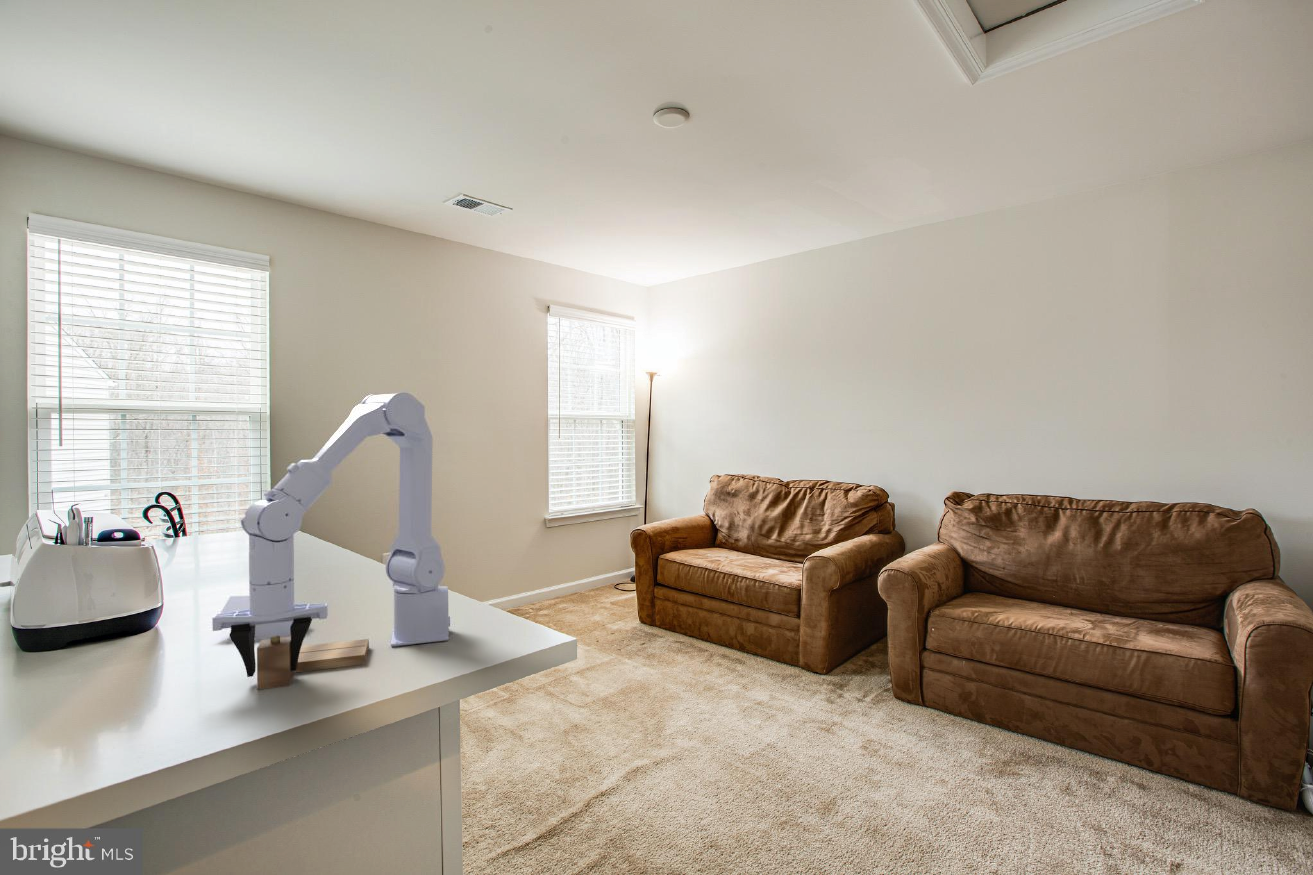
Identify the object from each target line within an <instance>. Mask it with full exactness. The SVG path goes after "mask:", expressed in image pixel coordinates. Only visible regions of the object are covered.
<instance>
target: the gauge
mask: <svg viewBox="0 0 1313 875" xmlns="http://www.w3.org/2000/svg"><path fill="white" fill-rule="evenodd" d="M256 670H257V671H256V674H257V675H256V676H257V677H256V678H257V679H256V680H257V682H256V684H257V686H256V687H257V688H256V689H257V690H258V691H260V690H265V689H273V688H280V687H286V686H290V684H291V682H292V679H293V676H294V673H293V671H291V635H290V636H286V637H280V636H278V635H277V636H272V637H270V639H260V643H259V644H258V646H257V648H256Z"/></svg>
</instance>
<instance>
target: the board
mask: <svg viewBox="0 0 1313 875" xmlns="http://www.w3.org/2000/svg"><path fill="white" fill-rule="evenodd" d="M369 649H370V640H369V638H364V639H356V640H345V641H337V642H328V643H327V642H326V643H319V644H309V645H308V644H307V645H302V646H301V649H300V653H299V658H298V666H297V669H296V670H295V671H293V674H294V673H302V672H308V671H309V672H310V671H311V672H312V671H319V670H326V669H334V668H336V669H337V668H342V667H349V666H350V667H351V666H352V667H353V666H358V665H365V664H366V660H367V656H368V653H369Z"/></svg>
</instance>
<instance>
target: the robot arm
mask: <svg viewBox="0 0 1313 875" xmlns="http://www.w3.org/2000/svg"><path fill="white" fill-rule="evenodd" d="M425 408H426V406H425V405H424V404H423V403H422V402H421V401H420V400H418V398H416V397H415V396H414V395H413V394H411V393H409V392H397V393H388V394H379V393H373V394H369V395H368V396H365V398H364V399H362V401H361V402H360V403H359V404H358V405H356V406H355V407H354V408H353V409H352V410H351V411H350V414H349V416H348V417H347V418H346V419H345V421H344V422H343V423H342V424H341V425H340V427H339V428H337V430H336V431H335V432H334V433H333V435H331V437H330V439H329V440H327V442H326V443H325V444H324V445H323V447H321V449H320V450H319V451H318V452H317V454H316V455H315V456H314V457H313V458H312V459H301V460H299V461H298V462H297V463H290V464H289V466H288V467H287V468H286V471H287V474H286V475H285V476H283V477H282V479H280V480H279V482H278V483H277V484H276V485H274V487H273V488H272V489H267V490H266V491H265V492H264V493H263V496H264V498H265V499H260V500H259V501H258V500H257V501H255V502H254V503H252V504H250V505H249V507H248V508H246V511H245V512H244V517H243V518H242V519H240V525H241V528H242V530H243V531H244V532H245V533H246V534H247V535H248V547H249V548H248V581H249V582H248V583H249V585H248V586H249V588H248V590H249V595H248V596H249V597H250V609H247V610H241V611H235V612H229V613H223V614H220V613H217V614H216V613H215V614H214V616H213V617H212V621H211V622H212V632H215V631H216V632H217V631H222V630H224V629H230V633H229V639H230V641H231V642H232V643H233V645H234V646H235V647H236V649H237V650H238V653H239V655H240V657H241V659H242V661H243V662H242V663H243V664H244V667H245V671H246V676H247V678H251V677H254V675H255V673H256V669H257V662H256V653H255V639H256V638H255V625H261V624H270V623H279V622H288V621H293V623H292V624H291V627H290V633H291V635H290V636H291V671H295V670H296V669H297V666H298V658H299V653H300V649H301V646H303V642H304V640H305V637H306V635H307V633H308V630H309V628H310V627H311V625H312V621H313V619H318V620H324V619H328V616H329V604H328V602H324V603H295V547H294V545H295V544H294V541H295V540H294V539H295V538H294V534H296V533H297V532H299V531H300V529H301V527H302V524H303V523H302V522H303V516H304V514H306V512H307V511H308V510H309V509H310V508H311V507H312V506H313V505H314V504H315V503H316V501H317V500H318V499H319V498H320V497H321V495H322V494H324V493H325V491H327V489H328V488H329V487H330V486H331V484H332V483H333V476H332V473H333V471H334V470H335V469H337V467H338V466H339V465H340V464H341V463H342V462H343V461H344V460H345V459H346V458H348V456H349V455H351V453H352V452H354V450H356V448H358V447H359V446H360V445H361V444H362V443H363V441H365V440H366V439H368V437H373V436H378V435H381V434H383V435H385V436H386V437H388V439H390V441H392V442H393V443H394V444H395V445H397V446H398V448H399V485H398V486H399V488H398V501H399V503H398V535H397V537H396V538H395V539H393V541H392V543H391V544H390V552H389V555H388V558H387V560H386V563H385V573H386V577H388V579H389V580H390V581H391V582H392V588H393V630H392V633H391V641H390V647H398V646H399V647H400V646H408V645H416V644H425V643H435V642H442V641H444V642H445V641H449V639H450V637H449V636H450V634H449V628H450V627H451V616H449V587H448V586H447V585H441V586H440V585H439V584H440V583H441V582H442V580H443V578H444V576H445V573H446V564H445V562H444V560H443V558H442V554H441V549H442V547H441V545H440V544H439V543H438V541H437V540H436V538H435V537H434V535H433V534H432V508H433V506H432V505H433V504H432V501H433V500H432V498H433V497H432V495H433V494H432V490H433V434H432V431H431V429H430V427H429V425H428V422H427V419H426V417H425V414H426V412H425V411H426V410H425Z"/></svg>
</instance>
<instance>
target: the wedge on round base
mask: <svg viewBox="0 0 1313 875" xmlns="http://www.w3.org/2000/svg"><path fill="white" fill-rule="evenodd" d="M247 609H250V597H249V595H231V596H229V598H228V599H227V601H226V603H225V604H224V606H223V608H222V609H221V611H220V613H219V614H223V613H229V612H235V611H241V610H247ZM292 623H293V621H288V622H279V623H270V624H261V625H255V639H258V640H265V639H270V637H272V636H277V635H278V636H280V638H282V637H290V636H291V633H290V627H291V624H292Z"/></svg>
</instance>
